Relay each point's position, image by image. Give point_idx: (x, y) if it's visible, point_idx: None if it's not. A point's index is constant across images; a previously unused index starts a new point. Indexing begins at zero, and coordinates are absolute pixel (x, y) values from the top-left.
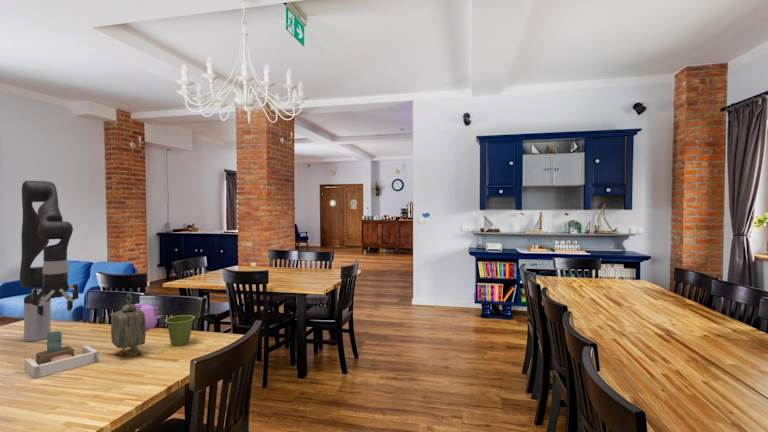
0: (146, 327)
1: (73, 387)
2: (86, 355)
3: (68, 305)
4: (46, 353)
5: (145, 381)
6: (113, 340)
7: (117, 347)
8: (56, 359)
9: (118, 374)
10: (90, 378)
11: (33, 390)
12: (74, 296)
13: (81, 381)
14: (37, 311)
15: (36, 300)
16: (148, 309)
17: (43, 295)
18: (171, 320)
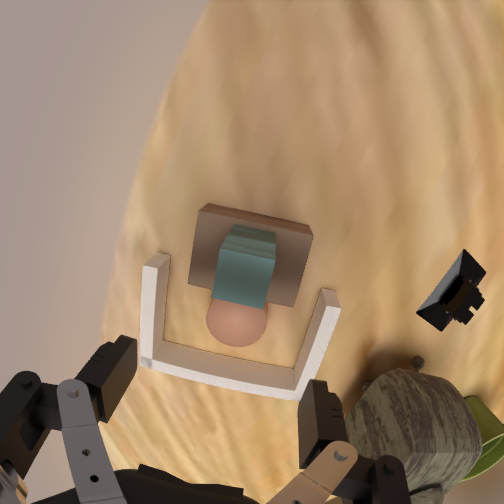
0: None
1: (183, 445)
2: (270, 394)
3: (301, 437)
4: (215, 259)
5: (261, 497)
6: (370, 397)
7: (420, 307)
8: (216, 328)
9: (263, 462)
10: (223, 441)
11: (132, 400)
12: (357, 498)
13: (205, 438)
14: (95, 357)
15: (39, 446)
16: None
17: (70, 464)
18: (496, 431)
